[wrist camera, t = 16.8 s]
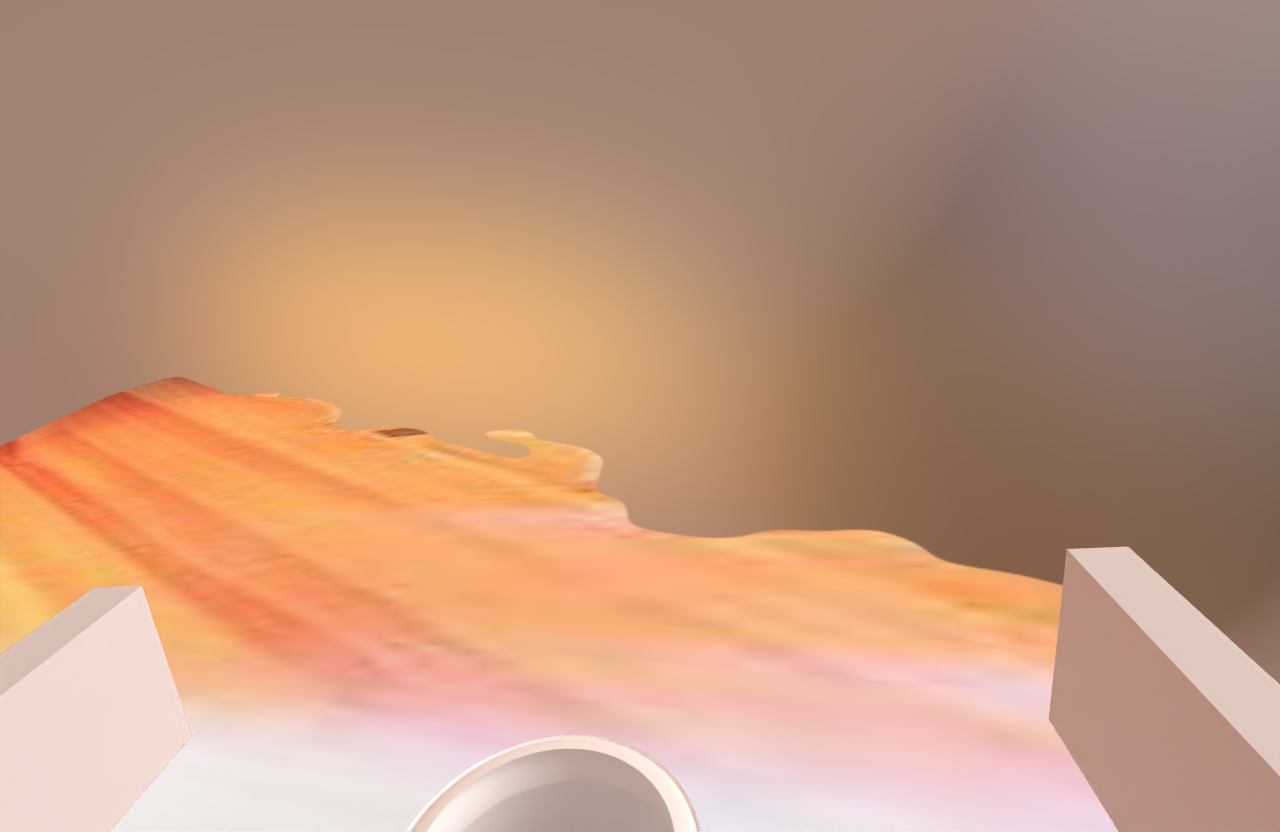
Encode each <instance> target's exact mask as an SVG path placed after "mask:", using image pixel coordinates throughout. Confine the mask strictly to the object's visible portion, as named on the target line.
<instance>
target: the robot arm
mask: <svg viewBox="0 0 1280 832" xmlns="http://www.w3.org/2000/svg"><path fill="white" fill-rule="evenodd" d="M1049 720H1050V722H1051V724H1052V725H1053V727H1054V728H1055V730H1056V732H1057V733H1058V735H1059V736H1060V738H1061V740H1062V741H1063V743H1064V744H1065V746H1066V748H1067V749H1068V751H1069V752H1070V754H1071V756H1072V757H1073V759H1074V760H1075V762H1076V764H1077V765H1078V767H1079V769H1080V770H1081V772H1082V773H1083V775H1084V777H1085V778H1086V780H1087V781H1088V783H1089V785H1090V786H1091V788H1092V789H1093V791H1094V793H1095V794H1096V796H1097V797H1098V799H1099V801H1100V802H1101V804H1102V805H1103V807H1104V809H1105V810H1106V812H1107V813H1108V815H1109V817H1110V818H1111V820H1112V821H1113V823H1114V825H1115V826H1116V828H1117V829H1118V831H1119V832H1280V685H1279V684H1278V683H1277V682H1276V681H1275V680H1274V679H1273V678H1272V677H1271V676H1269V675H1268V674H1267V673H1266V672H1265V671H1264V670H1263V669H1262V668H1261V667H1259V666H1258V665H1257V664H1256V663H1255V662H1254V661H1253V660H1252V659H1251V658H1249V657H1248V656H1247V655H1246V654H1245V653H1244V652H1243V651H1242V650H1241V649H1240V648H1239V647H1238V646H1236V645H1235V644H1234V643H1233V642H1232V641H1231V640H1230V639H1229V638H1228V637H1227V636H1225V635H1224V634H1223V633H1222V632H1221V631H1220V630H1219V629H1218V628H1217V627H1216V626H1215V625H1213V624H1212V623H1211V622H1210V621H1209V620H1208V619H1207V618H1206V617H1205V616H1204V615H1202V614H1201V613H1200V612H1199V611H1198V610H1197V609H1196V608H1195V607H1194V606H1192V605H1191V604H1190V603H1189V602H1188V601H1187V600H1186V599H1185V598H1184V597H1182V596H1181V595H1180V594H1179V593H1178V592H1177V591H1176V590H1175V589H1174V588H1173V587H1172V586H1171V585H1169V584H1168V583H1167V582H1166V581H1165V580H1164V579H1163V578H1162V577H1160V575H1158V574H1157V573H1156V572H1155V571H1154V570H1153V569H1152V568H1151V567H1150V566H1148V565H1147V564H1146V563H1145V562H1144V561H1143V560H1142V559H1141V558H1140V557H1139V556H1138V555H1136V554H1135V553H1134V552H1133V551H1132V550H1131V549H1130V548H1129V547H1110V548H1086V549H1085V548H1084V549H1067V554H1066V563H1065V573H1064V582H1063V591H1062V600H1061V610H1060V619H1059V628H1058V638H1057V647H1056V657H1055V666H1054V675H1053V685H1052V694H1051V703H1050V713H1049ZM191 737H192V733H191V730H190V728H189V725H188V722H187V719H186V716H185V713H184V710H183V707H182V704H181V701H180V698H179V695H178V692H177V689H176V686H175V683H174V680H173V677H172V674H171V671H170V668H169V665H168V662H167V659H166V657H165V654H164V651H163V648H162V645H161V642H160V639H159V636H158V633H157V630H156V627H155V624H154V621H153V618H152V615H151V612H150V609H149V606H148V603H147V600H146V597H145V594H144V591H143V588H142V586H126V587H100V588H93V589H91V590H90V591H89V592H87V593H86V594H84V595H83V596H82V597H80V598H79V599H78V600H76V601H75V602H73V603H72V604H71V605H69V606H68V607H66V608H65V609H64V610H62V611H61V612H59V613H58V614H57V615H55V616H54V617H53V618H51V619H50V620H48V621H47V622H46V623H44V624H43V625H41V626H40V627H39V628H37V629H36V630H34V631H33V632H32V633H30V634H29V635H28V636H26V637H25V638H23V639H22V640H21V641H19V642H18V643H16V644H15V645H14V646H12V647H11V648H9V649H8V650H7V651H5V652H4V653H3V654H1V655H0V832H110V831H111V830H112V828H113V827H114V826H115V825H116V824H117V823H118V822H119V820H120V819H121V818H122V817H123V816H124V815H125V813H126V812H127V811H128V810H129V809H130V808H131V807H132V805H133V804H134V803H135V802H136V801H137V800H138V798H139V797H140V796H141V795H142V794H143V793H144V791H145V790H146V789H147V788H148V787H149V786H150V785H151V783H152V782H153V781H154V780H155V779H156V778H157V776H158V775H159V774H160V773H161V772H162V771H163V770H164V768H165V767H166V766H167V765H168V764H169V763H170V761H171V760H172V759H173V758H174V757H175V756H176V755H177V753H178V752H179V751H180V750H181V749H182V748H183V746H184V745H185V744H186V743H187V742H188V741H189V739H190V738H191Z"/></svg>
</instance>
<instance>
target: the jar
mask: <svg viewBox="0 0 1280 832" xmlns="http://www.w3.org/2000/svg"><path fill="white" fill-rule="evenodd" d="M406 832H700V828H699V824H698V820H697V817H696V814H695V811H694V809H693V806H692V804H691V802H690V800H689V798H688V796H687V794H686V793H685V791H684V790H683V788H682V787H681V785H680V784H679V783H678V781H677V780H676V779H675V778H674V776H673V775H672V774H671V773H670V772H669V771H668V770H667V769H666V768H665V767H664V766H662V765H661V764H660V763H659V762H657V761H656V760H655V759H653V758H652V757H650V756H649V755H647V754H646V753H644V752H642V751H640V750H638V749H636V748H634V747H632V746H629V745H627V744H624V743H621V742H618V741H615V740H611V739H606V738H601V737H595V736H584V735H566V736H555V737H547V738H542V739H537V740H533V741H529V742H525V743H522V744H519V745H516V746H513V747H510V748H508V749H505V750H503V751H500V752H498V753H496V754H494V755H492V756H490V757H488V758H486V759H484V760H482V761H480V762H479V763H477V764H475V765H474V766H472V767H471V768H469V769H467V770H466V771H465V772H463V773H462V774H460V775H459V776H458V777H456V778H455V779H454V780H452V781H451V782H450V783H449V784H447V785H446V786H445V787H444V788H443V789H442V790H441V791H440V792H439V793H437V794H436V795H435V796H434V797H433V798H432V799H431V800H430V802H429V803H428V804H427V805H426V806H425V807H424V808H423V809H422V810H421V812H420V813H419V814H418V815H417V817H416V818H415V819H414V821H413V822H412V823H411V825H410V826H409V828H408V829H407V831H406Z"/></svg>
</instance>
